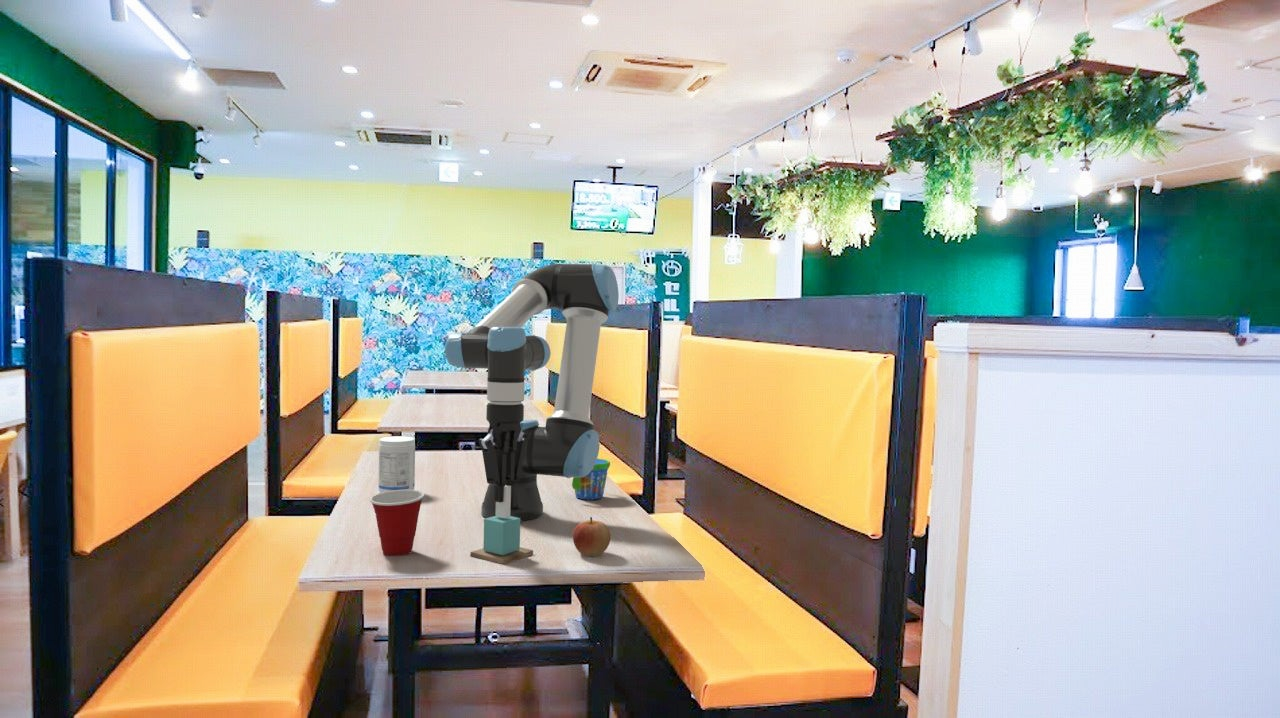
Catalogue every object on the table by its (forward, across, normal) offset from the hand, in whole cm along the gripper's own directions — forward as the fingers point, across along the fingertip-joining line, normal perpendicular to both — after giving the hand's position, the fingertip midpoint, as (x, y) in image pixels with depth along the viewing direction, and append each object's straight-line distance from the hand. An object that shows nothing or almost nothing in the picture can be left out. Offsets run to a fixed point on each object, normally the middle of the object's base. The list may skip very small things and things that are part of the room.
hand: (502, 516), depth 172 cm
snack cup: (+8, -56, -19) cm, 59 cm away
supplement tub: (+8, -27, -63) cm, 69 cm away
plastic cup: (+8, +12, -18) cm, 23 cm away
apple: (+8, -12, +14) cm, 20 cm away
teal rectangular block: (+7, 0, 0) cm, 7 cm away
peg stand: (+8, 0, 0) cm, 8 cm away
